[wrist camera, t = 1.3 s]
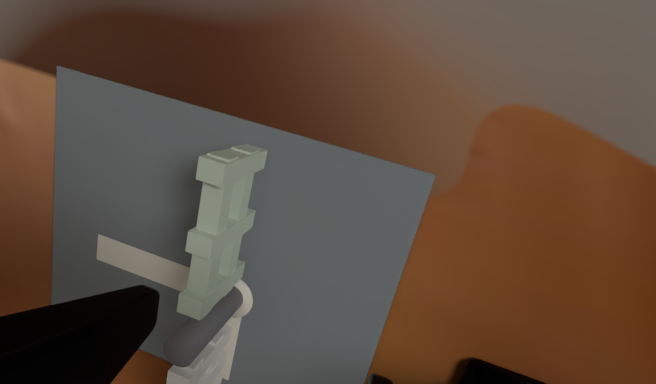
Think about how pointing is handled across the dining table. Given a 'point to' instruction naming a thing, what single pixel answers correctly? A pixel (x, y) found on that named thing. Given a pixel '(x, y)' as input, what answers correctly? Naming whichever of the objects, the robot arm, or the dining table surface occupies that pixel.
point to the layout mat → (257, 243)
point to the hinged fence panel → (219, 226)
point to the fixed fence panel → (202, 344)
